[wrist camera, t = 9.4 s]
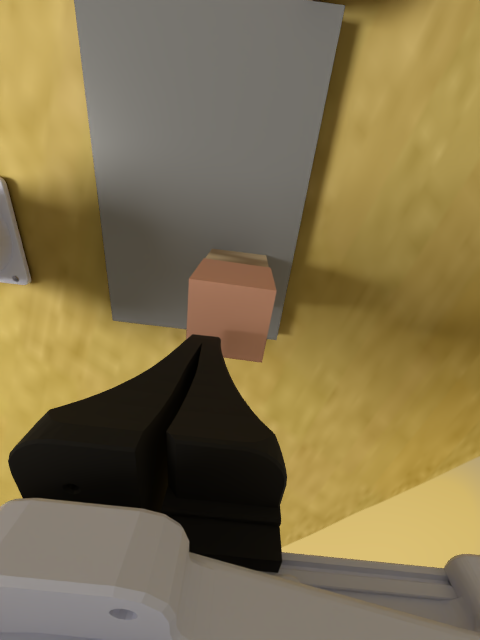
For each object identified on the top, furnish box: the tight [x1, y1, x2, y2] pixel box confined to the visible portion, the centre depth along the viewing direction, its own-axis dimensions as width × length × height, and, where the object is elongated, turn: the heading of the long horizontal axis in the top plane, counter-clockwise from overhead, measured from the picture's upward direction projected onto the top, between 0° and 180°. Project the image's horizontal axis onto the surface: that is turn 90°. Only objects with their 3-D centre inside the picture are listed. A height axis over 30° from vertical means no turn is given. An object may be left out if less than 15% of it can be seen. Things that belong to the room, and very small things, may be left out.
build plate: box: [74, 0, 345, 340], centre depth 18 cm, size 14×20×1 cm
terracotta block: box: [186, 258, 276, 362], centre depth 14 cm, size 4×4×4 cm
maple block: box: [206, 249, 269, 267], centre depth 18 cm, size 4×4×4 cm
